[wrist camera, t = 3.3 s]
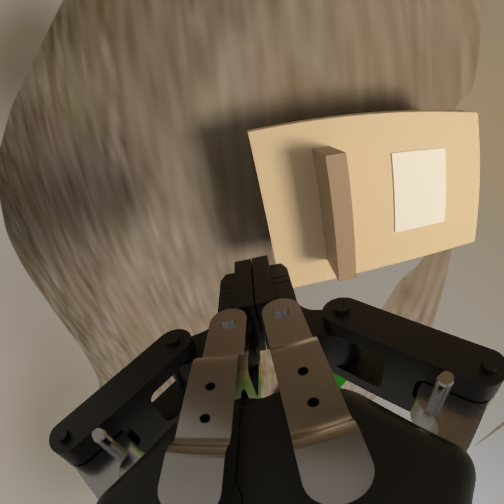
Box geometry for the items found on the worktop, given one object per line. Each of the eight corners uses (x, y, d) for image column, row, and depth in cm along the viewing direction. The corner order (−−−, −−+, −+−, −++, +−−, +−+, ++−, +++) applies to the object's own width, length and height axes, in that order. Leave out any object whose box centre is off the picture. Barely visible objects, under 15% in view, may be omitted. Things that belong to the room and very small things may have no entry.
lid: (246, 130, 19) (249, 135, 14) (459, 110, 18) (502, 117, 13) (277, 274, 24) (286, 315, 19) (460, 230, 23) (494, 256, 18)
